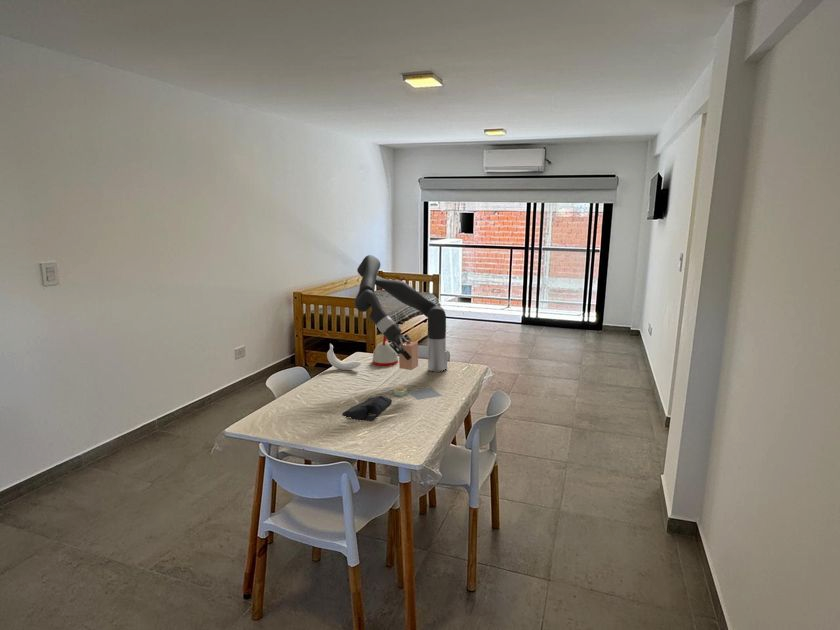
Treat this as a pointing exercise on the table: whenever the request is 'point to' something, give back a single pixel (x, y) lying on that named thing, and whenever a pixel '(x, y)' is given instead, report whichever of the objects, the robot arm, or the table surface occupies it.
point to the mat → (424, 393)
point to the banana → (341, 364)
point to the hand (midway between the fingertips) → (412, 356)
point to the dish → (400, 392)
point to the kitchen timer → (384, 354)
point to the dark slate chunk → (368, 409)
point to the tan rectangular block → (413, 352)
